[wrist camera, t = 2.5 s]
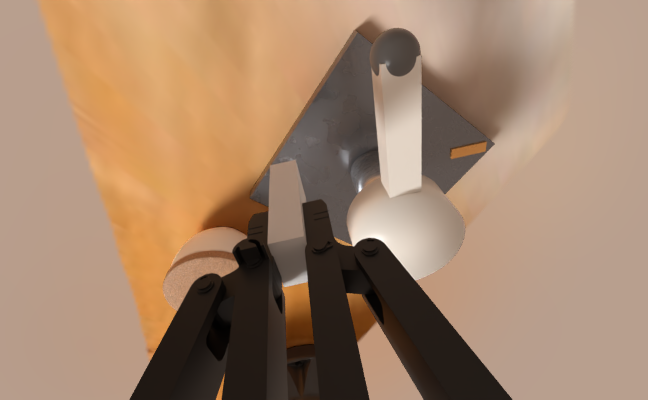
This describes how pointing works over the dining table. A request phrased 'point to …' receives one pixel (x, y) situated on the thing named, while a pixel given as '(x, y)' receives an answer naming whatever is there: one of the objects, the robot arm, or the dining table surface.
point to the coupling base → (364, 139)
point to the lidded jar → (201, 261)
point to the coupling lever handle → (403, 168)
